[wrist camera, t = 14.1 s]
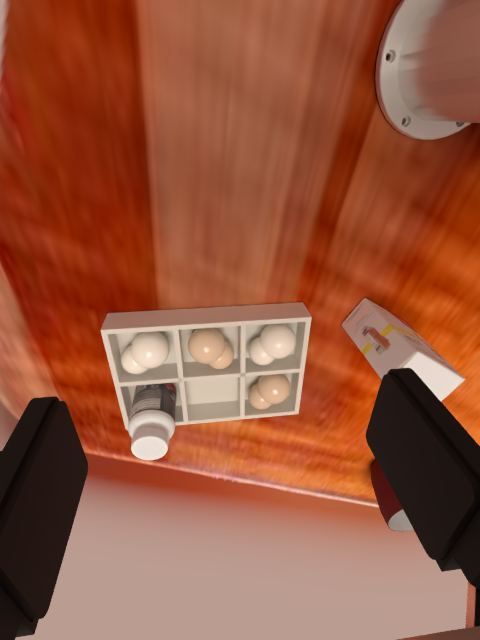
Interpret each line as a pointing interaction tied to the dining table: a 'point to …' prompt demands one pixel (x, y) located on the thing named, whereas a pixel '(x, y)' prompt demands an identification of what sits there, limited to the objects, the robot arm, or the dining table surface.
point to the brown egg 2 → (269, 391)
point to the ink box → (398, 348)
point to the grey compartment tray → (201, 379)
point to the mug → (388, 501)
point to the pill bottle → (152, 419)
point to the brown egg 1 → (210, 348)
